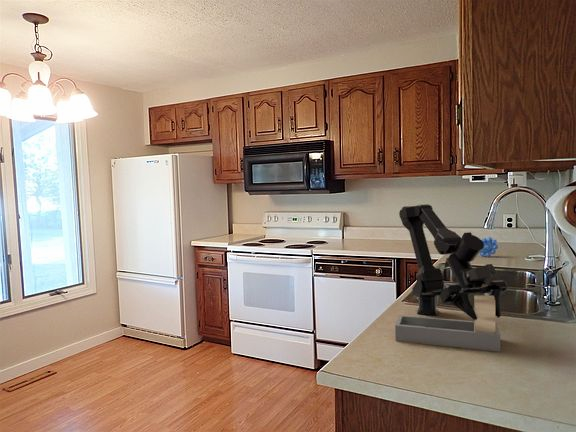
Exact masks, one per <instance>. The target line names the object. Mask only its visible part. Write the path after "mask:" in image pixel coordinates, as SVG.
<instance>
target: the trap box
mask: <svg viewBox="0 0 576 432" xmlns="http://www.w3.org/2000/svg"><path fill="white" fill-rule="evenodd" d="M394 327H395V331H394V333H395V341H396V342H405V343H415V344H424V345H432V346H433V345H434V346H442V347H449V348H450V347H452V348H461V349H471V350H479V351H480V350H481V351H490V352H499V353H500V352H501V333H500V329H499V326H498V323H497V322H495V333H485V332H474V320H463V319H452V318H451V319H449V318H442V317H441V318H439V317H427V316H416V315H415V316H414V315H402V314H400V315H398V318H397V321H396V322H395V326H394Z"/></svg>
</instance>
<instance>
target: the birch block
mask: <svg viewBox="0 0 576 432" xmlns="http://www.w3.org/2000/svg"><path fill="white" fill-rule="evenodd" d="M473 297H474V298H473V304H474V305H473V309H474V311H475V313H476V316H477V319H476V320H474V319H473V321H474V332H485V333H495V323H496V315H495V298H494V296H488V295H485V294H473Z"/></svg>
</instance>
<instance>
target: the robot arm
mask: <svg viewBox="0 0 576 432" xmlns="http://www.w3.org/2000/svg"><path fill="white" fill-rule="evenodd" d="M398 213H399V219H400V221H401V224H402V226H403V227H405V229H407V231H408V232H409V236H410V240H411V243H412V248H413V251H414V256H415V259H416V263H417V267H418V271H417V273H416V276H415V277H416V278H415V279H416V282H415V283H414V285H413V286H412V288H411V289H412V290H411V291H412V295H414V296H415V297H418V307H417V311H416V314H418V315H426V316H427V315H430V316H438V310H439V309H438V308H437V296H439V298H440V300H441V302H442V303H443V304H447V303H450V305H453V306H454V307H456V308H457V309H459V310H461V311H462V312H463V313H465V314H466V315H467V316H468V317H469V318H471V319H472V320H473V321H474V320H476V319H477V316H476V313H475V311H474V306H473V305H472V303H471V301H470V299H469V296H472V295H488V296H494V298H495V317H496V318H497V319H498V318H500V317H501V308H500V298H501V296H502V295H503V294H505V292H506V291H507V290H508V289H509V286H508V284H507V282H506V281H505V280H502V279H500V280H491V281H490V282H489V283H488V284H487V285H485V284H486V282H487V281H486V280H487V279H492V278H493V276H495V275H496V274H497V270H496V268H495V267H494V265H493V264H492V263H489V264H488V263H487V264H485V265H483V266H477V267H473V266H472V264H471V262H473V261H475V259H476V258H477V257H478V256H479V255H480V251H481V250H482V249H483V247H484V243H483V241H482V239H481V238H480V237H478V236H476V235H473V234H472V232H470V231H469V232H463V234H462V236H460V235H459V234H457V233H456V232H455V231H453V230H451V229H449V228H447V226H446V225H445V224H444V223H443V221H442V220H441V219H440V217H439V216H438V215H437V214H436V212H435V211H434V210H433V207H432V205H431V204H418V205H412V206H409V205H408V206H403V207H401V208H400V210H399V212H398ZM424 226H425V227H426V228H427V230H428V231H429V233H430V234H431V236H432V237H433V239H434V241H433V245H434V247H435V249H436V250H437V252H438V254H439V255H442V256H443V255H449V256H448V257H446V258H445V262H444V267H446V268H447V267H449V268H450V270H451V272H452V274H453V279H452V280H453V282H454V284H446V285H445V282H444V280H445V279H444V277H443V274H442V270H441V268H437V267H435V266H434V264H433V260H432V256H431V253H430V249H429V245H428V242H427V237H426V234H425V231H424ZM483 285H484V286H483Z"/></svg>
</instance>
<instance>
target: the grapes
mask: <svg viewBox="0 0 576 432" xmlns="http://www.w3.org/2000/svg"><path fill="white" fill-rule="evenodd" d="M481 240H482V241H483V243H484V247H483V249H482V250H481V251H480V253H479V255H480V257H484V256H485V257H486V256H489V257H491V255H495V254H496V252H497V250H498V249H499V244H497V243H498V241H497V239H493V237H491V236H490V237H489V236H488V237H487V238H486V237H484V238H482V239H481Z"/></svg>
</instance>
